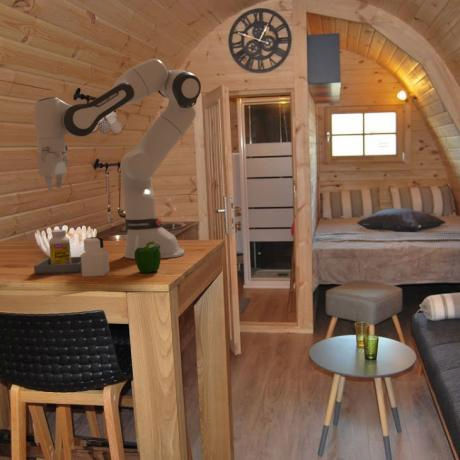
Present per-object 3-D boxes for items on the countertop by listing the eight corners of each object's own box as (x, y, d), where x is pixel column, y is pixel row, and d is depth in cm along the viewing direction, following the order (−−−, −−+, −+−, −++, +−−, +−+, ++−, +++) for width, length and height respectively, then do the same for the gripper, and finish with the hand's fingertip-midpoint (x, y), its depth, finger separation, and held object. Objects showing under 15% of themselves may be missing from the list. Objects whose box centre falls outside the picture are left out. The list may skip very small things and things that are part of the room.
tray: (89, 264, 195) (89, 256, 194) (80, 272, 182) (79, 263, 182) (47, 266, 195) (46, 258, 194) (34, 274, 182) (33, 265, 182)
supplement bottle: (53, 270, 184) (49, 232, 182) (50, 267, 190) (46, 230, 188) (73, 268, 187) (70, 230, 185) (69, 264, 193) (66, 228, 191)
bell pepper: (130, 274, 177) (128, 243, 175) (143, 268, 184) (141, 239, 183) (153, 275, 174) (151, 244, 172) (165, 269, 181) (163, 239, 180)
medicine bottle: (88, 272, 183) (85, 236, 181) (109, 271, 182) (106, 235, 181) (81, 277, 176) (78, 240, 174) (104, 276, 175) (101, 239, 174)
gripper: (51, 146, 174) (55, 190, 176) (69, 146, 194) (72, 186, 196) (31, 147, 174) (35, 191, 176) (51, 147, 194) (54, 187, 196)
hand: (55, 188), depth 186 cm, fingers open, 8 cm apart
